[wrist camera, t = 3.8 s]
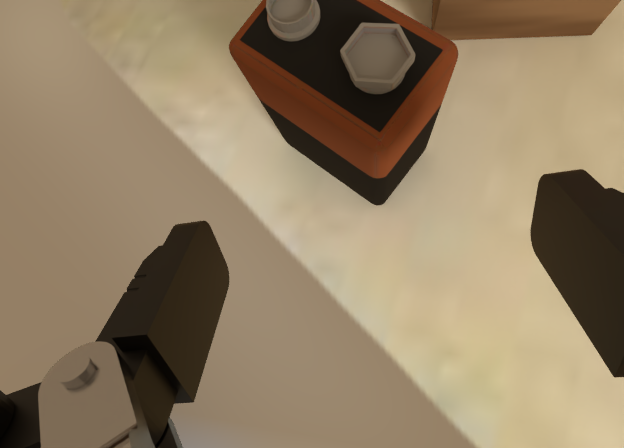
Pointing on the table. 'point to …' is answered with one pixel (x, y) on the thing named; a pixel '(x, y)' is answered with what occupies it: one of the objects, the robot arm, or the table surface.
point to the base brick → (518, 18)
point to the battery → (347, 84)
